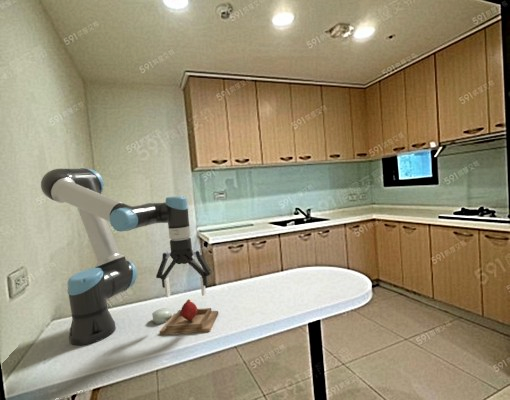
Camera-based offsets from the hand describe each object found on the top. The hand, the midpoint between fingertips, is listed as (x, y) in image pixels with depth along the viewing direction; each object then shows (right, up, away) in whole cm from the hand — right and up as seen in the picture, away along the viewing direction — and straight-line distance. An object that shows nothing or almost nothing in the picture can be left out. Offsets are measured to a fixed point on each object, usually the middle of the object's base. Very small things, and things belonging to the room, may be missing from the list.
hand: (185, 295), depth 112 cm
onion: (+2, -10, 0) cm, 10 cm away
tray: (+2, -11, 0) cm, 11 cm away
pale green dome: (-11, -12, +7) cm, 17 cm away
